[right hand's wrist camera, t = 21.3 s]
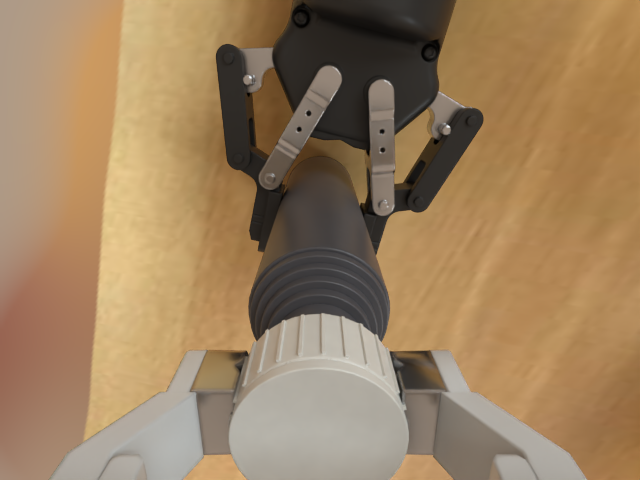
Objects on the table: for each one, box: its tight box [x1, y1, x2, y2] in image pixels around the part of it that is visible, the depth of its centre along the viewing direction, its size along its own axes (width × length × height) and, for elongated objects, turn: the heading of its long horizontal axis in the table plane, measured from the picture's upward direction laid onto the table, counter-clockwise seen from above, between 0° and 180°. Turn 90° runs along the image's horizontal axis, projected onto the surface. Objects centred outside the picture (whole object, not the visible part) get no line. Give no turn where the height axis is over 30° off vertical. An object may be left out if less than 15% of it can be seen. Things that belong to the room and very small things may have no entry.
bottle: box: [248, 156, 390, 342], centre depth 19 cm, size 5×5×22 cm
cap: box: [228, 313, 409, 480], centre depth 10 cm, size 4×4×2 cm
